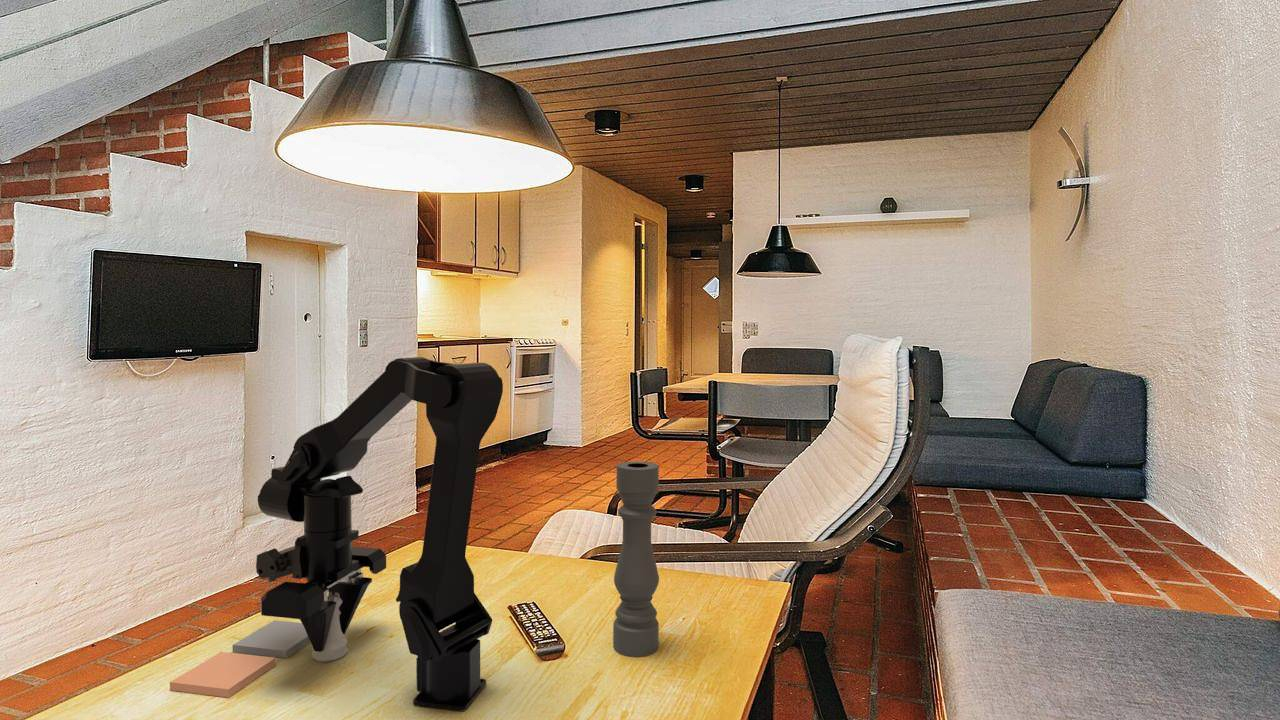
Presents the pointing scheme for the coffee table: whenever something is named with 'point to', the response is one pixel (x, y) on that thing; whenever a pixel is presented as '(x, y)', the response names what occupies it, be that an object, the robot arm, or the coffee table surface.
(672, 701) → the coffee table surface
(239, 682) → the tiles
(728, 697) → the coffee table surface
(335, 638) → the rook chess piece
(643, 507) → the candle holder
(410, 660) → the coffee table surface
